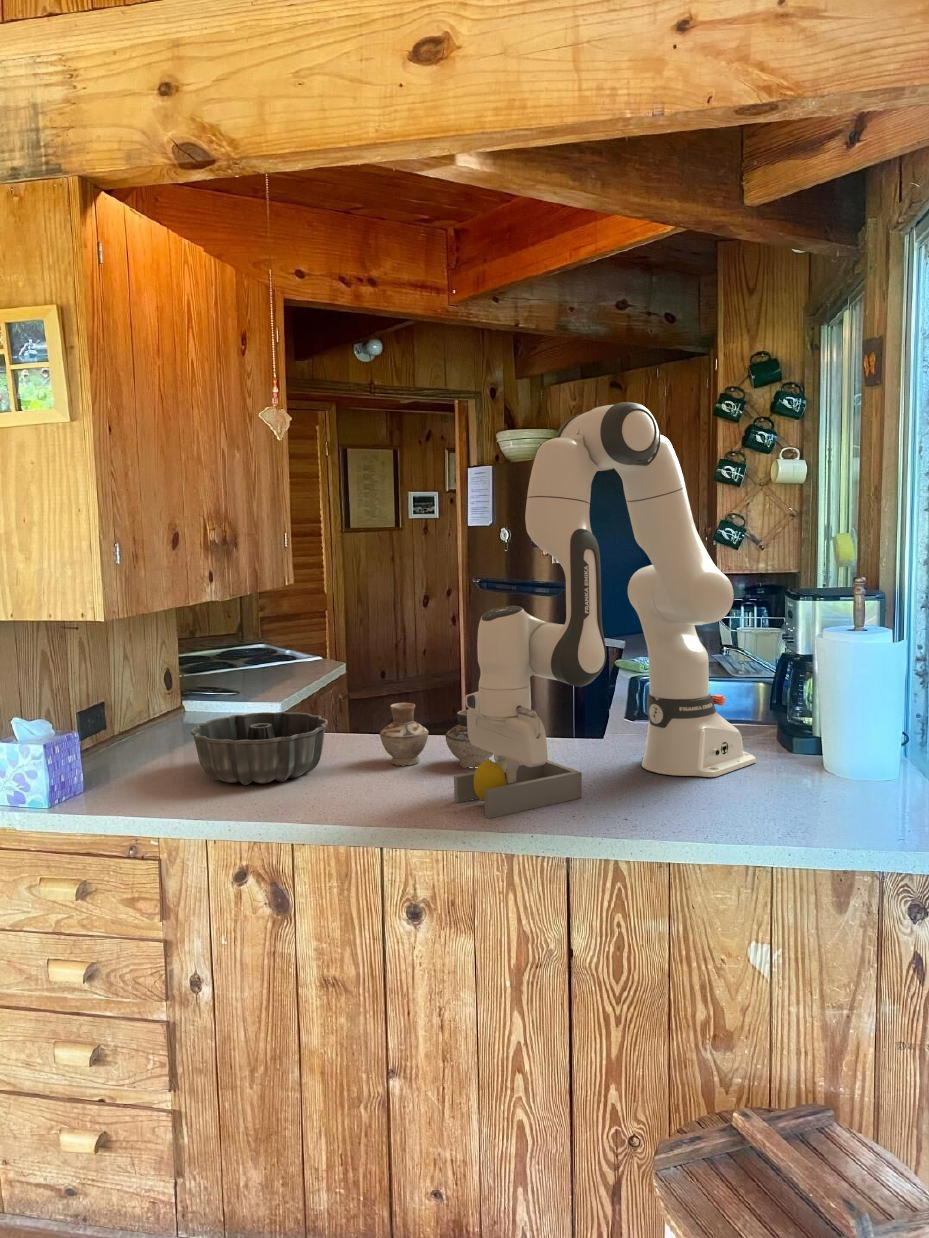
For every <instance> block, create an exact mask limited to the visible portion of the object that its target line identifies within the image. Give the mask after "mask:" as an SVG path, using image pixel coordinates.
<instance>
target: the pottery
mask: <svg viewBox="0 0 929 1238" xmlns="http://www.w3.org/2000/svg"><path fill="white" fill-rule="evenodd" d="M415 709H416V704H415V703H412V702H398V703H393V704H390V710H391V715H392V720H393V721H392V722H391V723H389V724H388V725H386V726H385V727H384V728H383V729H382V730H381V731H380V732H379V738H380V740H381V743H382V746H383V748H384V750H385V751H386V753H387V754H388V755H390V757H392V758H391V763H390V764H391V765H393V764H395V765H394V766H396V765H401V766H400V767H405V765H408V766H413V764H414V765H417V764H418V762H419V763H420V759H419V755H420V754H421V753H422V752H423V750H424V749H425V747H426V744H427V741H428V739H429V738H428V736H429V730H428V729H427V728H426V727H425V726H423V725H422V724H420V723H418V722H417V721H415V720H414V715H415ZM467 711H468V709H466V710H459V711H458V712H456V713H457V714H456V715H457V722H458V724H457V725H455V726H453V727H452V728H451V729H448V731H447V732H445V735H444V737H445V741H446V745H447V747H448V748H449V750H450V752H451V753H452V755H453V756H454V757H456V759H458V760H459V766H460V767H461V766H462V767H461V768H463V767H473V768H472V769H476V768H475V767H478V766H479V765H481V764H482V763H484V762H486V761H487V760H490V759H491V758H492V756H494V753H491V752H489V751H486V750H483V749H481V748H478V747H476V746H473V745H472V744H471V743H470V740H469V737H468V729H467ZM416 763H417V764H416Z"/></svg>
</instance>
